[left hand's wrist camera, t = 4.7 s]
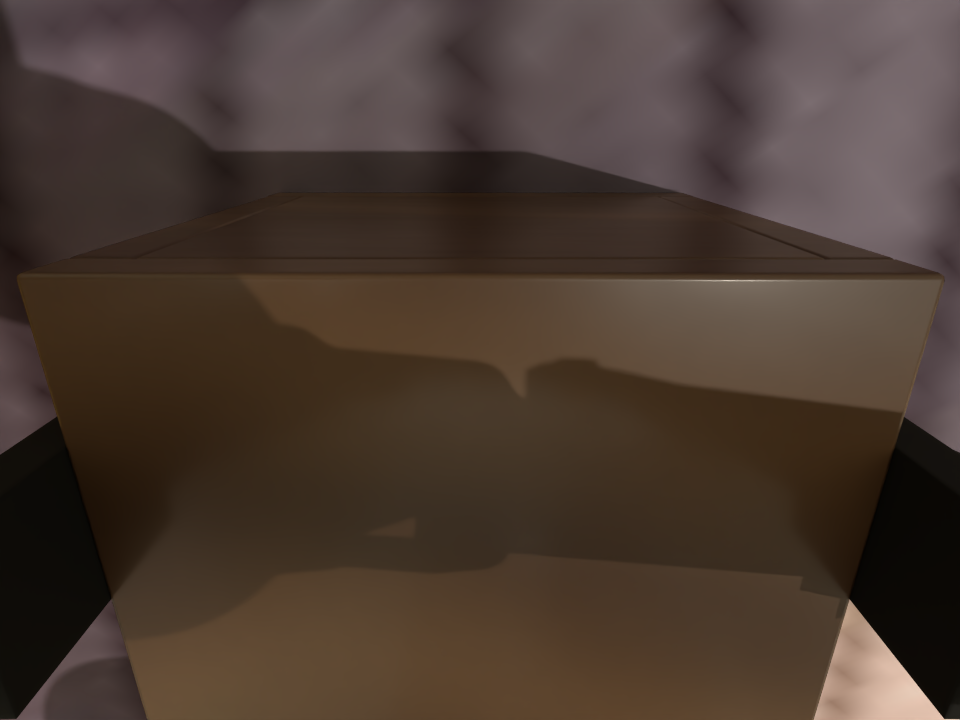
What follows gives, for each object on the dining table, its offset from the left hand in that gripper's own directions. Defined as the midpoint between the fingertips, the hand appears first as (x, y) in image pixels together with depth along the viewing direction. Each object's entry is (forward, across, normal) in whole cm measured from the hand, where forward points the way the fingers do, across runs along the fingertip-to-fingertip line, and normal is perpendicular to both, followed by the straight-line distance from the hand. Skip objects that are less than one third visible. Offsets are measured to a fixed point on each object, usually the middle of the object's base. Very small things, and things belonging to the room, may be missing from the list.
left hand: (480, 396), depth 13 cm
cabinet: (+6, 0, -7) cm, 9 cm away
